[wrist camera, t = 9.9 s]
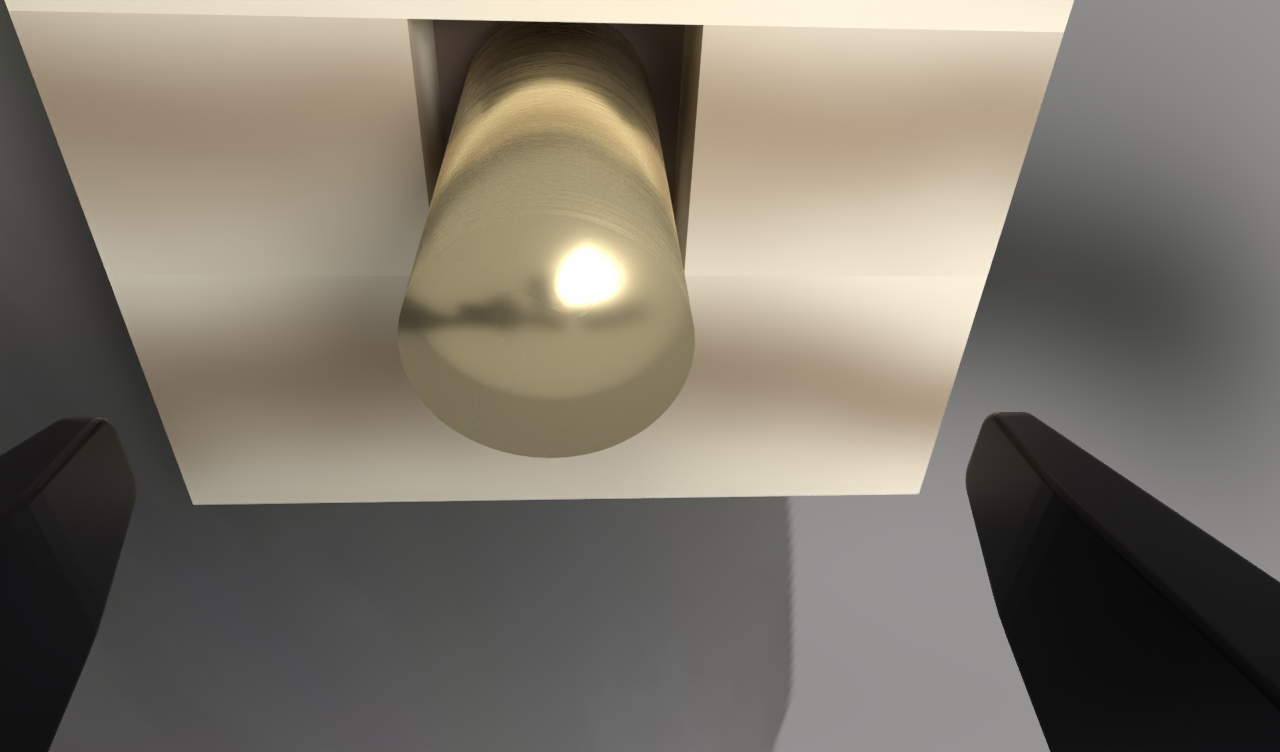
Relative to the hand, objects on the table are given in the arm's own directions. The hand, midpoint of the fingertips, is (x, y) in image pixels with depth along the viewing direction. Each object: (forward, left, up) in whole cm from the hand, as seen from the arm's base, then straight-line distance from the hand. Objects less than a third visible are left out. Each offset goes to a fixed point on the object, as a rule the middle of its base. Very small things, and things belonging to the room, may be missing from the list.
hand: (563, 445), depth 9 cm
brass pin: (0, 0, -10) cm, 10 cm away
